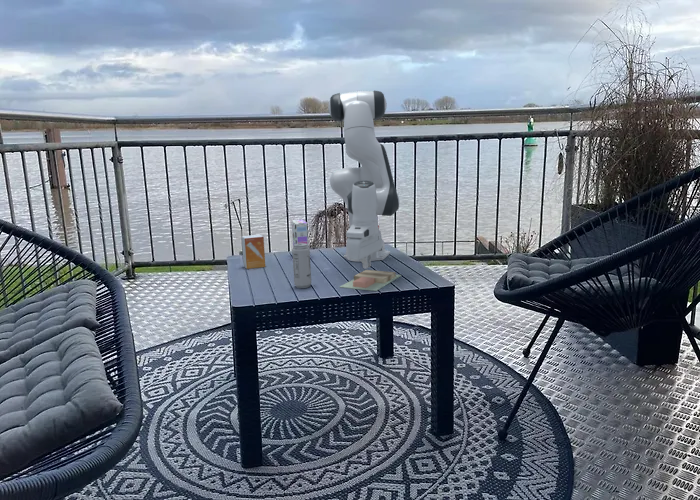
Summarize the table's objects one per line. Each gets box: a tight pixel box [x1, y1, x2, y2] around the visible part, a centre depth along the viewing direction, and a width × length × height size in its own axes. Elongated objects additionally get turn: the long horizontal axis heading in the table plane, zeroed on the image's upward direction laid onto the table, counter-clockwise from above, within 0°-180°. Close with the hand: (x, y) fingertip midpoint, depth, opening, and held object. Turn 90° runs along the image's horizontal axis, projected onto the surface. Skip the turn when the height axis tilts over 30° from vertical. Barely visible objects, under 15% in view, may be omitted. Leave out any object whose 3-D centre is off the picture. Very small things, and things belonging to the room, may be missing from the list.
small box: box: [241, 234, 266, 270], centre depth 216 cm, size 8×6×13 cm
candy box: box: [290, 219, 310, 248], centre depth 231 cm, size 14×6×16 cm, turn 12°
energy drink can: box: [291, 243, 312, 289], centre depth 181 cm, size 6×6×15 cm
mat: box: [339, 274, 402, 292], centre depth 186 cm, size 22×14×1 cm, turn 152°
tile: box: [353, 277, 375, 288], centre depth 180 cm, size 7×5×2 cm
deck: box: [353, 269, 397, 283], centre depth 188 cm, size 10×12×2 cm
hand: (366, 267), depth 182 cm, fingers closed
